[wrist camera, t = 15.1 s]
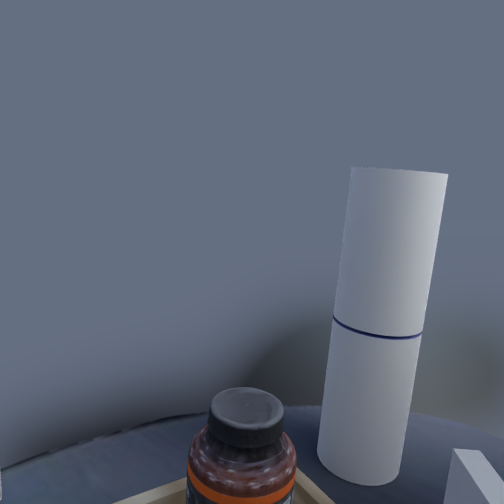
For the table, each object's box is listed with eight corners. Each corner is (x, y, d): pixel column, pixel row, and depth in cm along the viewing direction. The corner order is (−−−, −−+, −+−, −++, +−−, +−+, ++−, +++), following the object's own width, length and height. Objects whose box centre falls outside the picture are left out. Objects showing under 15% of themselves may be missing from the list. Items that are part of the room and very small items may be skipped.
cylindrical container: (326, 484, 35) (368, 166, 30) (310, 431, 42) (341, 166, 37) (413, 487, 35) (467, 175, 31) (382, 434, 42) (422, 173, 38)
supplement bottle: (171, 550, 27) (180, 382, 25) (259, 528, 29) (274, 372, 27) (193, 649, 22) (208, 445, 19) (300, 613, 24) (323, 427, 22)
